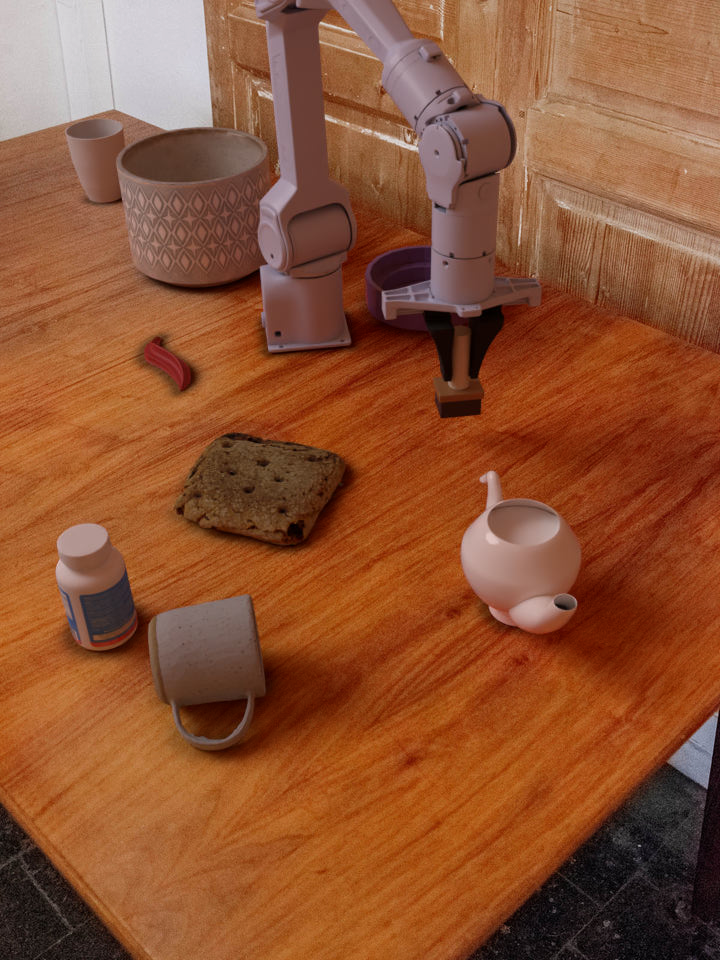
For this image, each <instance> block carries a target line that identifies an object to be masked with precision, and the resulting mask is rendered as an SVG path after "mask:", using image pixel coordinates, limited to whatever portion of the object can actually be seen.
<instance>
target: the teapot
mask: <svg viewBox="0 0 720 960" xmlns="http://www.w3.org/2000/svg"><path fill="white" fill-rule="evenodd" d="M479 482H480V483H482V484H485V485H487V497H486V504H485V510H483V511H482V513H481V514H480V515H478V516H477V517H476V519H474V521H473V522H471V524H470V525H468V527H467V528H466V530H465V531H464V534H463V536H462V539H461V543H460V563H461V569H462V572H463V574H464V575H463V576H464V577H465V580H466V582H467V583H468V585H469V586H470V588H471V590H472V591H473V593H475V595H476V596H477V597H478V598H479V600H481V601H482V602H483V603H484V604H486V605H487V606H488V609H489V612H490V614H491V615H492V616H493V617H494V618H495V620H496V621H499V622H500V623H502V624H504V625H507V626H512V627H518V628H519V629H520V630H522V631H525V632H527V633H530V634H535V635H543V634H549V633H553V632H555V631H558V630H560V629H561V628H563V627H564V626H565V625H567V623H568V622H569V621H570V620H571V619H572V617H573V615H574V614H575V613H576V611H577V609H578V601H577V599H576V598H575V596H573V595H571V594H569V592H570V590H571V589H572V588H573V586H574V585H575V583H576V580H577V578H578V577H579V573H580V570H581V566H582V565H581V564H582V555H583V554H582V546H581V543H580V541H579V538H578V536H577V534H576V533H575V531H574V530H573V529H572V527H571V525H570V524H569V522H567V520H566V518H564V516H563V515H562V514H561V513H560V512H559V511H557V510H556V509H555V508H554V507H552V506H550V505H549V504H546V503H544V502H542V501H539V500H535V499H531V498H522V497H521V498H509V499H504V495H503V490H502V482H501V478H500V475H499V473H498V472H497V471H495V470H489V471H487V472H486V473H484V474H483V475H481V476H480V477H479Z"/></svg>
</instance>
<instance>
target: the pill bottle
mask: <svg viewBox="0 0 720 960" xmlns="http://www.w3.org/2000/svg"><path fill="white" fill-rule="evenodd" d="M56 548H57V553H58V557H59V560H58V562H57V564H56V565H55V566H56V567H55V579H56V582H57V583H56V584H57V586H58V590H59V594H60V597H61V600H62V604H63V607H64V611H65V615H66V618H67V622H68V626H69V628H70V632H71V634H72V635H71V636H72V637H73V639H74V640H75V642H76V643H77V644H78V645H79V646H81V647H82V648H84V649H87V650H90V651H97V652H102V651H109V650H111V649H115V648H117V647H119V646H121V645H123V644H125V643H126V642H127V641H128V640H130V639H131V638H132V637H133V635H134V634H135V632H136V630H137V628H138V620H139V619H138V615H137V609H136V605H135V602H134V598H133V593H132V592H133V591H132V588H131V583H130V579H129V574H128V570H127V566H126V562H125V559H124V556H123V553H122V552H121V551H120V550H119V549H117V548H116V547H115V546H114V545H112V541H111V538H110V535H109V532H108V530H107V529H106V528H105V527H104V526H102V525H101V524H97V523H93V522H91V523H90V522H89V523H79V524H75V525H73V526H71V527H69V528H67V529H66V530H64V531H63V532H62V533H61V534H60V535H59V537H58V538H57V540H56Z"/></svg>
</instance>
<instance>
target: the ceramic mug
mask: <svg viewBox="0 0 720 960" xmlns="http://www.w3.org/2000/svg"><path fill="white" fill-rule="evenodd" d="M253 601H254V600H253V597H252V595H250V594H241V595H236V596H233V597H228V598H224V599H218V600H214V601H207V602H203V603H198V604H194V605H189V606H183V607H177V608H173V609H169V610H167V611H164V612H161V613H159V614H156V615H154V616H153V617H152V618H151V619H150V622H149V623H148V629H147V640H148V641H147V642H148V643H147V644H148V652H149V661H150V668H151V669H150V670H151V674H152V680H153V685H154V689H155V692H156V695H157V697H158V699H159V700H160V702H162V703H163V704H164V705H166V706H171V710H172V717H173V720H174V724H175V727H176V728H177V730H178V732H179V734H180V735H181V737H182V739H183V740H184V741H186V742H187V744H189V745H191V746H192V747H194V748H196V749H199V750H202V751H220V750H224V749H228V748H230V747H232V746H234V745H236V744H237V743H238V742H240V741H241V740H242V738H243V737H244V736H245V735H246V733H247V732H248V730H249V729H250V725H251V723H252V721H253V716H254V709H255V700H256V698H260V697H265V696H266V693H267V688H266V678H265V669H264V661H263V656H262V655H263V654H262V648H261V641H260V640H261V639H260V634H259V629H258V622H257V616H256V612H255V606H254V602H253ZM246 699H247V704H246V709H245V712H244V715H243V718H242V720H241V722H240V723H239V724H238V726H237V727H236V728H235V729H234V730H233V731H232V733H231V734H229V735H228V736H227V737H226V738H221V739H220V738H219V739H210V738H207V737H205V736H203V735H202V736H197V735H195V734H193V733H189V732H188V730H187V729H186V728H185V726H184V725H183V722H182V719H181V713H180V712H181V711H180V710H181V709H180V708H181V707H186V706H187V707H188V706H193V705H195V706H196V705H201V704H207V703H208V704H209V703H215V702H229V701H230V702H231V701H237V700H246Z"/></svg>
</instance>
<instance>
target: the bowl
mask: <svg viewBox="0 0 720 960" xmlns="http://www.w3.org/2000/svg"><path fill="white" fill-rule="evenodd" d="M429 280H431V245H428V244H421V245H410V246H409V245H408V246H403V247H399V248H395V249H390V250H388V251H385V252H384V253H382V254H380V255H377V256H376V257H375V258H373V259H372V260H371V261H370V262H369V263H368V264H367V266H366V269H365V272H364V288H365V293H364V294H365V305H366V307H367V311H368V312H369V313H370V314H371V315H372V316H373V317H374V318H375V319H376V320H378V321H380V322H381V323H384V324H386V325H388V326H391V327H394V328H398V329H402V330H406V331H407V330H408V331H417V332H429V331H428V328H427V326H426V323H425V321H424V318H423V315H422V313H416V314H405V315H397V318H396V319H390V320H385V317H384V314H383V311H382V291H390V290H396V289H400V288H404V287H407V286H411V285H415V284H418V283H422V282H425V281H429ZM450 315H451V316H452V319H451V321H452V324H453V326H454V327H455V326H464V325H465V324H468V317H460V316H459V315H458V313H453V312H450Z"/></svg>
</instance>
